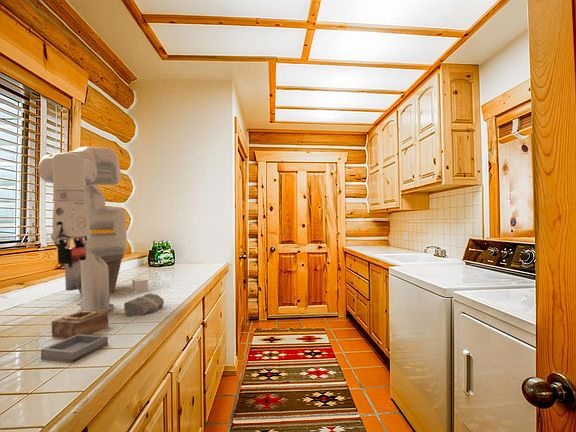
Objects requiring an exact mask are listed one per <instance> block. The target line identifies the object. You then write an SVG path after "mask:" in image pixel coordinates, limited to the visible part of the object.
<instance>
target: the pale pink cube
mask: <svg viewBox="0 0 576 432" xmlns="http://www.w3.org/2000/svg"><path fill="white" fill-rule="evenodd" d="M131 280H132V282H131V283H132V284H131V285H132V292H133V293H134V292H135V293H134V294H140V293H144V292H149V280H148V279H147V278H145V277H142V278H136V279H131Z"/></svg>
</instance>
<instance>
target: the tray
mask: <svg viewBox="0 0 576 432" xmlns="http://www.w3.org/2000/svg"><path fill="white" fill-rule="evenodd" d="M108 337H109V336H108V335H95V334H90V335H85V334H77V335H75V336H72V337H70V338H64V339H63V340H61V341H58V342H56V343H53V344H51V345H49V346H46V347H44V348H43V347H42V348H41V349H40V358H41V360H46V361H47V360H48V361H55V362H57V361H58V362H65V363H75V362H78V361H79V360H81V359H82V358H85V357H87V356H89V355H90V354H93V353H95V352H96V351H99V350H101V349H103V348H105V347H107V346H108V345H109V338H108Z"/></svg>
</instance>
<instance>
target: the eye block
mask: <svg viewBox="0 0 576 432" xmlns="http://www.w3.org/2000/svg"><path fill="white" fill-rule="evenodd" d="M108 327H109V311H108V312H98V311H79V312H78V311H77V312H74V313H71V314H68V315H65V316H63V317H61V318H57V319H54V320H52V321H51V337H52V338H64V339H67V338H70V337H72V336H75V335H77V334H85V335H93V334H94V333H96V332H99V331H101V330H103V329H106V328H108Z"/></svg>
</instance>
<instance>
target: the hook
mask: <svg viewBox="0 0 576 432" xmlns="http://www.w3.org/2000/svg"><path fill="white" fill-rule="evenodd" d="M69 249H71V253H72V263H70V264H64V273H65V274H64V275H65V277H64V278H65V281H64V282H65V291H69V292H70V291H76V290H78V289H81V266H80V257H84V256H85V247H75V246H73V247H70V248H69Z"/></svg>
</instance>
